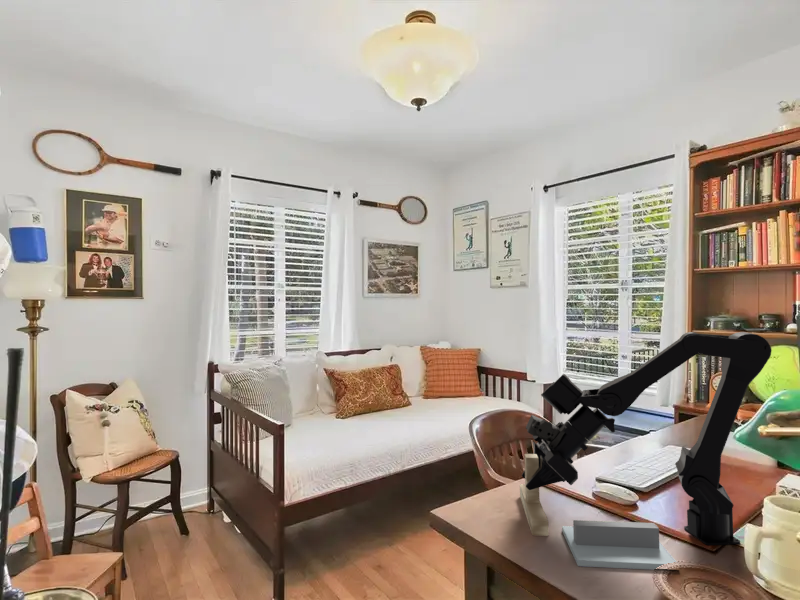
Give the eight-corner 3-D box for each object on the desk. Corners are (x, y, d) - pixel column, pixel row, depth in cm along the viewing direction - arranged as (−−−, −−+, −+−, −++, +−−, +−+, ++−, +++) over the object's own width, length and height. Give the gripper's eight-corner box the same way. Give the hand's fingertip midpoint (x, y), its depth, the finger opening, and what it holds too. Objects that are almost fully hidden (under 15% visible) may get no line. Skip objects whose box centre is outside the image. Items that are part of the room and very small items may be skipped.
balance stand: (649, 534, 87) (648, 510, 87) (679, 570, 75) (678, 543, 75) (562, 531, 89) (561, 508, 89) (578, 566, 77) (577, 539, 77)
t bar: (533, 497, 105) (531, 443, 105) (548, 536, 87) (546, 471, 88) (520, 497, 106) (518, 443, 106) (532, 536, 88) (530, 470, 88)
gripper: (541, 395, 106) (493, 442, 107) (558, 414, 87) (501, 470, 88) (577, 429, 104) (529, 476, 106) (603, 456, 86) (544, 513, 87)
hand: (525, 482), depth 97 cm, fingers open, 6 cm apart
